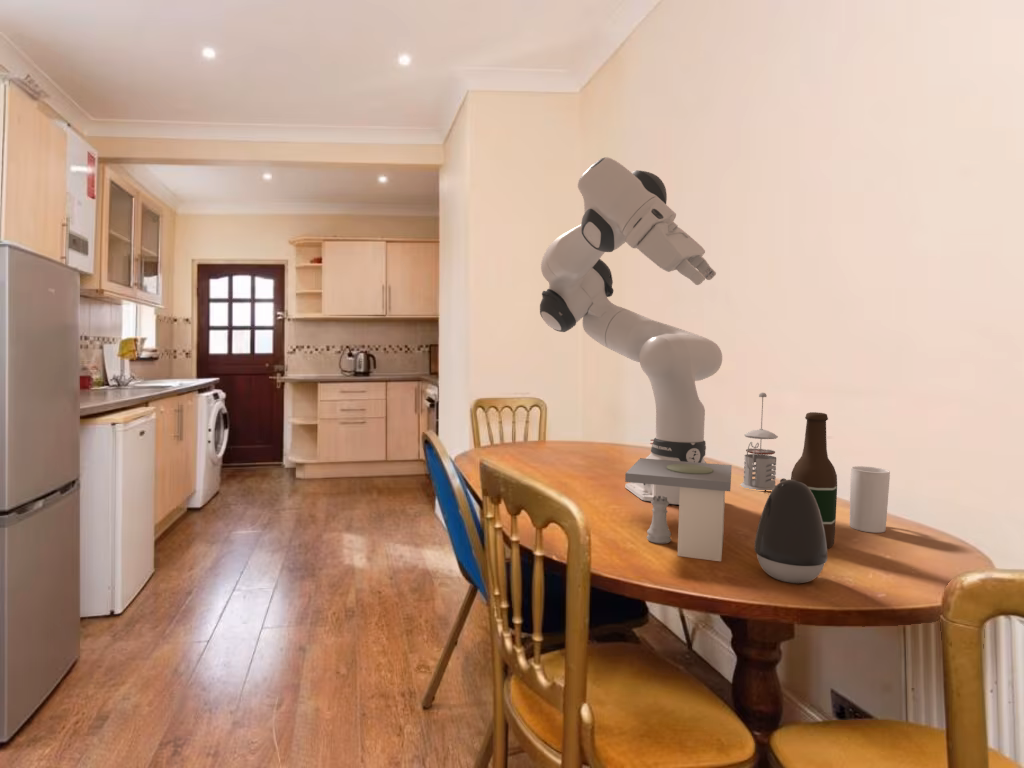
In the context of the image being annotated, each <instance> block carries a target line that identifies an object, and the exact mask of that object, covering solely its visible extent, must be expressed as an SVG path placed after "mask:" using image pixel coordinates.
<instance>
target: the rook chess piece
mask: <svg viewBox="0 0 1024 768" xmlns="http://www.w3.org/2000/svg"><path fill="white" fill-rule="evenodd" d="M650 503H651V505H652V509H651V511H652V518H651V524H650V525H649V527H648V529H647V531H646V533H647V536H646V539H647V540H648V542H650V543H652V544H657V545H658V544H659V545H665V544H669V543H670V542H671V541H672V538H671V535H672V532H671V531H670V529H669V528H670V527H669V526H668V520H667V513H668V510H667V507H668V506H669V505H670V504H669V502H668V501H667V497H664V496H663V499H662V498H661V496H658V498H657V496H654V497H653V500H652V501H650Z"/></svg>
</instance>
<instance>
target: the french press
mask: <svg viewBox="0 0 1024 768" xmlns="http://www.w3.org/2000/svg"><path fill="white" fill-rule="evenodd" d="M758 397H759V398H761V416H763V412H764V411H763V409H764V398H767V393H766V392H760V393H759V394H758ZM760 421H761V422H760V428H759V429H752V430H750V431H748V432H746V433H745V434H744V437H745V438H750V439H755V440H756V439H757V440H775V439H777V438H778V437H779V436H778V435H777V434H775V432H774V433H773V432H771V431H769V430H766V429H763V417H761V419H760ZM759 445H760V446H759ZM750 446H751V448H750ZM759 447H760V448H759ZM745 451H746V454H744V456H743V457H744V459H743V460H744V462H743V464H744V466H743V482H741V483H740V484H739V485H741V486H742V487H744V488H749V489H756V490H773V489H774V488H775V487H776V485H777V484H776V475H777V472H776V470H777V467H776V466H777V457H776V456H772V455H774V454H775V453H776V451H775V450H772V449H764V448H762V441H759V442H756V444H755V446H754V445H753V442H752V441H750V443H749V444H748V447H747V449H745ZM754 477H755V478H754ZM744 488H743V489H744Z"/></svg>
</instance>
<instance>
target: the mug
mask: <svg viewBox="0 0 1024 768" xmlns="http://www.w3.org/2000/svg"><path fill="white" fill-rule="evenodd" d="M890 474H891V471H890V470H888V469H885V468H882V467H881V468H880V467H873V466H862V465H861V466H858V465H857V466H851V467H850V485H849V486H850V487H849V488H850V489H849V526H850V528H851V529H854V530H856V531H861V532H866V533H874V534H875V533H876V534H879V533H884V532H886V531H887V530H886V528H887V520H888V519H887V518H888V516H887V515H888V504H889V491H890V479H891V478H890V477H891V475H890Z"/></svg>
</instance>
